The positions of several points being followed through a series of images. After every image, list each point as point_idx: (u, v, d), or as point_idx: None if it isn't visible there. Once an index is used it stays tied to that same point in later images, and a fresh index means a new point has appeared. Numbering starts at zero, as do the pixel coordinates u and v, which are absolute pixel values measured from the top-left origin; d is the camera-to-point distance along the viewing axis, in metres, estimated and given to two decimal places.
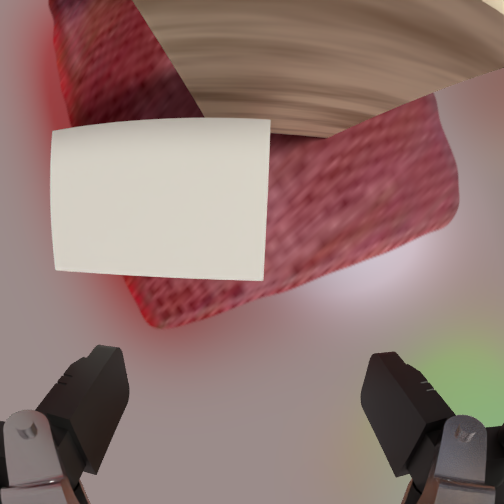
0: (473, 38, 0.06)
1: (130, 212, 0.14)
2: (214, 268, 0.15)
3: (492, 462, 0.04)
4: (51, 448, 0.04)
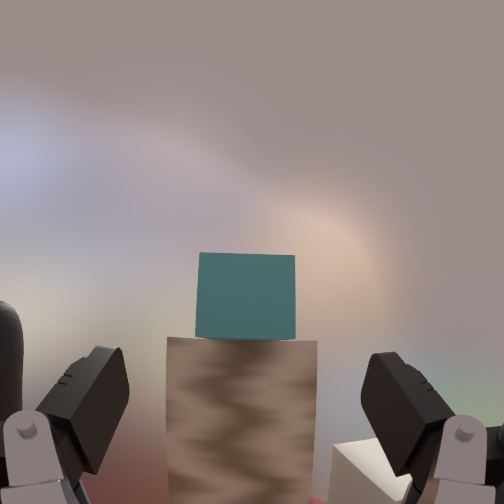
0: None
1: None
2: None
3: (492, 462, 0.04)
4: (51, 448, 0.04)
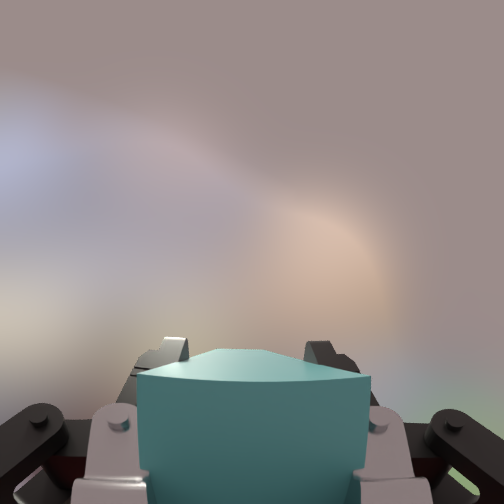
0: None
1: None
2: None
3: (412, 460, 0.05)
4: None
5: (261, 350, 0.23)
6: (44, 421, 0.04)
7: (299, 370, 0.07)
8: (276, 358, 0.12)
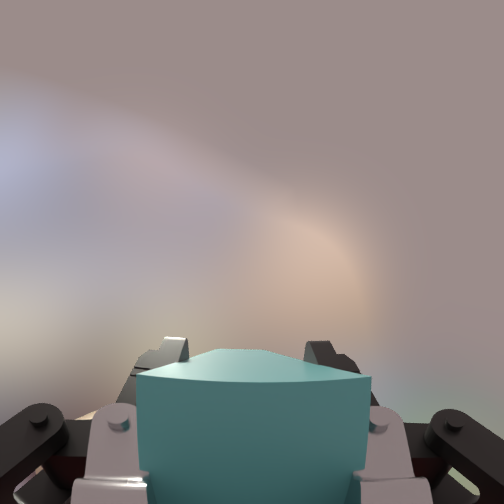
0: None
1: None
2: None
3: (412, 461, 0.05)
4: None
5: (261, 350, 0.23)
6: (44, 421, 0.04)
7: (299, 370, 0.06)
8: (276, 358, 0.12)
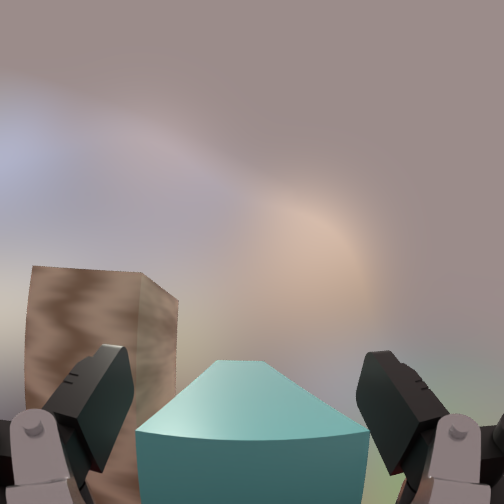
0: (172, 317, 0.30)
1: None
2: None
3: (486, 461, 0.04)
4: (59, 447, 0.04)
5: None
6: None
7: (298, 413, 0.06)
8: (275, 383, 0.11)
